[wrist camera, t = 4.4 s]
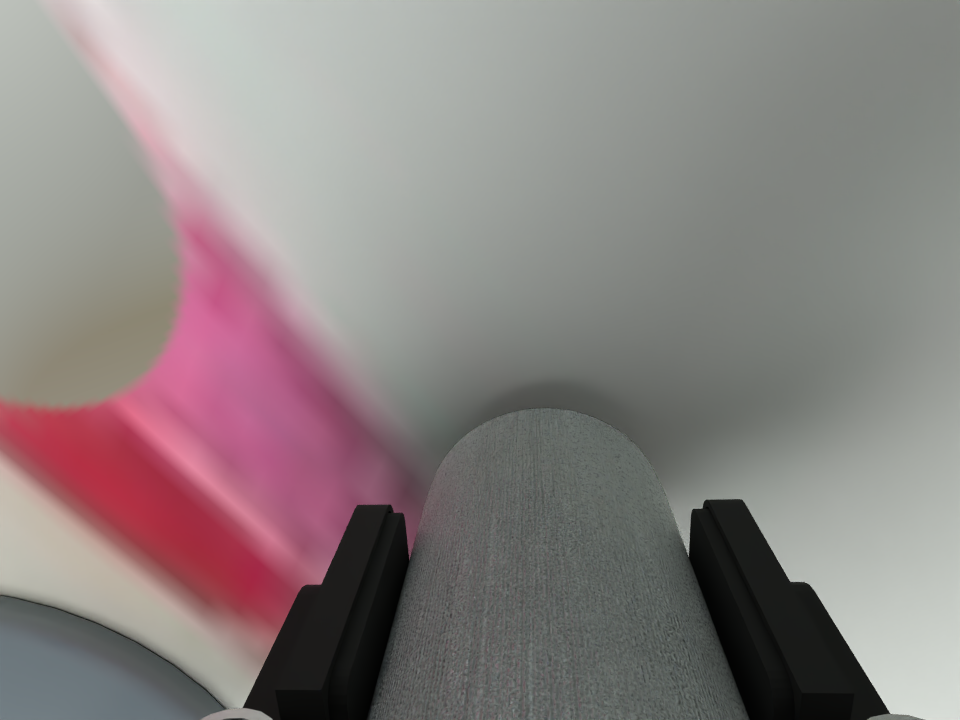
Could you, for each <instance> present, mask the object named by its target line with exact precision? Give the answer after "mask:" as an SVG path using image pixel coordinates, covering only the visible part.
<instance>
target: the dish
mask: <svg viewBox="0 0 960 720" xmlns="http://www.w3.org/2000/svg"><path fill="white" fill-rule="evenodd" d="M224 710H225V709H224V708H223V707H222V706H221V705H220V704H219V703H218V702H217V701H216V700H215V699H214V698H213V697H212V696H211V695H210V694H209V693H208V692H207V691H206V690H204V689H203V688H202V687H200V686H199V685H198V684H196V683H195V682H194V681H193V680H191V679H190V678H189V677H187V676H186V675H185V674H184V673H182V672H181V671H180V670H178V669H177V668H176V667H174V666H173V665H172V664H170V663H168V662H167V661H165V660H163V659H162V658H160V657H159V656H157V655H155V654H154V653H152V652H150V651H149V650H147V649H146V648H144V647H142V646H141V645H139V644H137V643H136V642H134V641H132V640H130V639H127V638H125V637H123V636H121V635H119V634H117V633H115V632H113V631H111V630H109V629H107V628H105V627H103V626H100V625H98V624H96V623H93V622H91V621H88V620H85V619H82V618H80V617H77V616H74V615H71V614H69V613H66V612H63V611H60V610H58V609H55V608H51V607H47V606H43V605H39V604H35V603H31V602H27V601H23V600H19V599H16V598H11V597H5V596H0V720H200V719H202V718H204V717H206V716H208V715H210V714H213V713H217V712H220V711H224Z"/></svg>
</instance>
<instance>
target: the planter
mask: <svg viewBox="0 0 960 720" xmlns="http://www.w3.org/2000/svg"><path fill="white" fill-rule="evenodd" d="M367 720H750V719H749V717H748V714H747V711H746V709H745V706H744V703H743V701H742V698H741V695H740V693H739V690H738V687H737V685H736V682H735V679H734V677H733V674H732V671H731V669H730V666H729V663H728V661H727V658H726V655H725V653H724V650H723V647H722V645H721V642H720V639H719V637H718V634H717V631H716V629H715V626H714V623H713V621H712V618H711V615H710V613H709V610H708V607H707V605H706V602H705V599H704V597H703V594H702V591H701V589H700V586H699V583H698V581H697V578H696V575H695V573H694V570H693V567H692V565H691V562H690V559H689V557H688V554H687V551H686V549H685V546H684V543H683V541H682V538H681V535H680V533H679V530H678V527H677V525H676V522H675V519H674V517H673V514H672V511H671V509H670V506H669V503H668V501H667V498H666V495H665V493H664V491H663V488H662V486H661V484H660V482H659V480H658V478H657V476H656V474H655V472H654V470H653V468H652V466H651V465H650V463H649V462H648V460H647V458H646V457H645V456H644V454H643V453H642V452H641V450H640V449H639V448H638V447H637V446H636V445H635V444H634V443H633V442H632V441H631V440H630V439H629V438H628V437H626V436H625V435H624V434H622V433H621V432H620V431H618V430H617V429H615V428H614V427H612V426H610V425H609V424H607V423H605V422H603V421H601V420H599V419H597V418H594V417H591V416H588V415H585V414H582V413H579V412H575V411H570V410H564V409H554V408H535V409H526V410H519V411H515V412H511V413H507V414H504V415H501V416H498V417H496V418H493V419H491V420H489V421H487V422H485V423H483V424H481V425H480V426H478V427H476V428H475V429H473V430H472V431H470V432H469V433H467V434H466V435H465V436H464V437H462V438H461V439H460V440H459V441H458V442H457V443H456V444H455V445H454V446H453V447H452V449H451V450H450V451H449V452H448V454H447V455H446V456H445V458H444V459H443V461H442V462H441V464H440V466H439V468H438V470H437V472H436V474H435V477H434V479H433V482H432V484H431V487H430V489H429V492H428V495H427V498H426V501H425V505H424V508H423V512H422V516H421V520H420V523H419V527H418V531H417V534H416V538H415V542H414V546H413V549H412V553H411V557H410V560H409V564H408V568H407V572H406V575H405V579H404V583H403V586H402V590H401V594H400V598H399V601H398V605H397V609H396V612H395V616H394V620H393V624H392V627H391V631H390V635H389V639H388V642H387V646H386V650H385V653H384V657H383V661H382V665H381V668H380V672H379V676H378V679H377V683H376V687H375V691H374V694H373V698H372V702H371V705H370V709H369V713H368V717H367Z"/></svg>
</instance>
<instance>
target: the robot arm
mask: <svg viewBox="0 0 960 720" xmlns="http://www.w3.org/2000/svg"><path fill="white" fill-rule="evenodd" d="M689 559H690V562H691V565H692V567H693V570H694V573H695V575H696V578H697V581H698V583H699V586H700V589H701V591H702V594H703V597H704V599H705V602H706V605H707V607H708V610H709V613H710V615H711V618H712V621H713V623H714V626H715V629H716V631H717V634H718V637H719V639H720V642H721V645H722V647H723V650H724V653H725V655H726V658H727V661H728V663H729V666H730V669H731V671H732V674H733V677H734V679H735V682H736V685H737V687H738V690H739V693H740V695H741V698H742V701H743V703H744V706H745V709H746V711H747V714H748V717H749V719H750V720H924V719H920V718H917V717H913V716H910V715H898V714H890V712H889V711H888V709H887V708H886V706H885V704H884V703H883V701H882V700H881V698H880V696H879V695H878V693H877V691H876V690H875V688H874V687H873V685H872V683H871V682H870V680H869V679H868V677H867V675H866V674H865V672H864V670H863V669H862V667H861V666H860V664H859V662H858V661H857V659H856V657H855V656H854V654H853V653H852V651H851V649H850V648H849V646H848V645H847V643H846V641H845V640H844V638H843V636H842V635H841V633H840V632H839V630H838V628H837V627H836V625H835V623H834V622H833V620H832V619H831V617H830V615H829V614H828V612H827V611H826V609H825V607H824V606H823V604H822V602H821V601H820V599H819V598H818V596H817V594H816V593H815V591H814V590H813V589H812V587H811V586H810V585H809V584H807V583H805V582H790V581H789V579H788V577H787V576H786V574H785V572H784V570H783V569H782V567H781V565H780V564H779V562H778V560H777V558H776V557H775V555H774V553H773V551H772V550H771V548H770V546H769V544H768V543H767V541H766V539H765V538H764V536H763V534H762V532H761V531H760V529H759V527H758V525H757V524H756V522H755V520H754V518H753V517H752V515H751V513H750V512H749V510H748V508H747V506H746V505H745V503H744V502H743V500H740V499H728V500H705V502H704V504H703V509H693V510H692V513H691V527H690V546H689ZM408 564H409V554H408V544H407V535H406V525H405V517H404V514H403V513H394V512H393V508H392V506H391V505H357V507H356V508H355V510H354V513H353V515H352V517H351V519H350V522H349V524H348V526H347V528H346V531H345V533H344V535H343V537H342V540H341V542H340V544H339V546H338V549H337V551H336V553H335V555H334V558H333V560H332V562H331V564H330V567H329V569H328V571H327V573H326V576H325V578H324V580H323V582H322V585H305V586H304V587H302V588H301V590H300V592H299V593H298V595H297V597H296V599H295V601H294V603H293V605H292V607H291V609H290V611H289V614H288V616H287V618H286V620H285V622H284V624H283V626H282V628H281V630H280V632H279V634H278V636H277V638H276V640H275V642H274V644H273V647H272V649H271V651H270V653H269V655H268V657H267V659H266V661H265V663H264V665H263V667H262V669H261V671H260V673H259V675H258V677H257V679H256V682H255V684H254V686H253V688H252V690H251V692H250V694H249V696H248V698H247V700H246V702H245V704H244V706H243V708H239V709H227V710H224V711H220V712H217V713H213V714H210V715H208V716H206V717H204V718H202V719H200V720H367V717H368V713H369V709H370V705H371V702H372V698H373V694H374V691H375V687H376V683H377V679H378V676H379V672H380V668H381V665H382V661H383V657H384V653H385V650H386V646H387V642H388V639H389V635H390V631H391V627H392V624H393V620H394V616H395V612H396V609H397V605H398V601H399V598H400V594H401V590H402V586H403V583H404V579H405V575H406V572H407V568H408Z"/></svg>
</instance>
